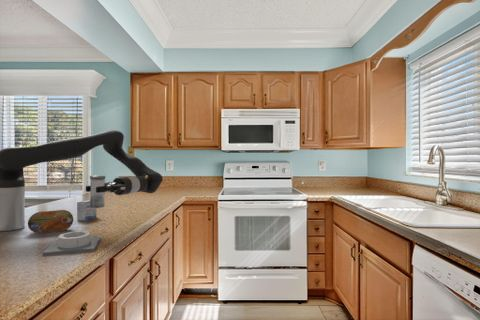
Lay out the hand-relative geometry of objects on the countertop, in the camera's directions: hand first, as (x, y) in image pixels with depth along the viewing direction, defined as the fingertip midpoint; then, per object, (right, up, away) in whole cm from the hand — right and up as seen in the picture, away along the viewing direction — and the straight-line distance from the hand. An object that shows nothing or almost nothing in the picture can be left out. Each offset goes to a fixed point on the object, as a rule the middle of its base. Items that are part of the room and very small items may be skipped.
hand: (91, 189), depth 106 cm
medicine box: (-18, -17, +29) cm, 38 cm away
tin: (-19, -18, +6) cm, 27 cm away
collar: (+1, -18, -12) cm, 22 cm away
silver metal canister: (+1, -7, +2) cm, 7 cm away
